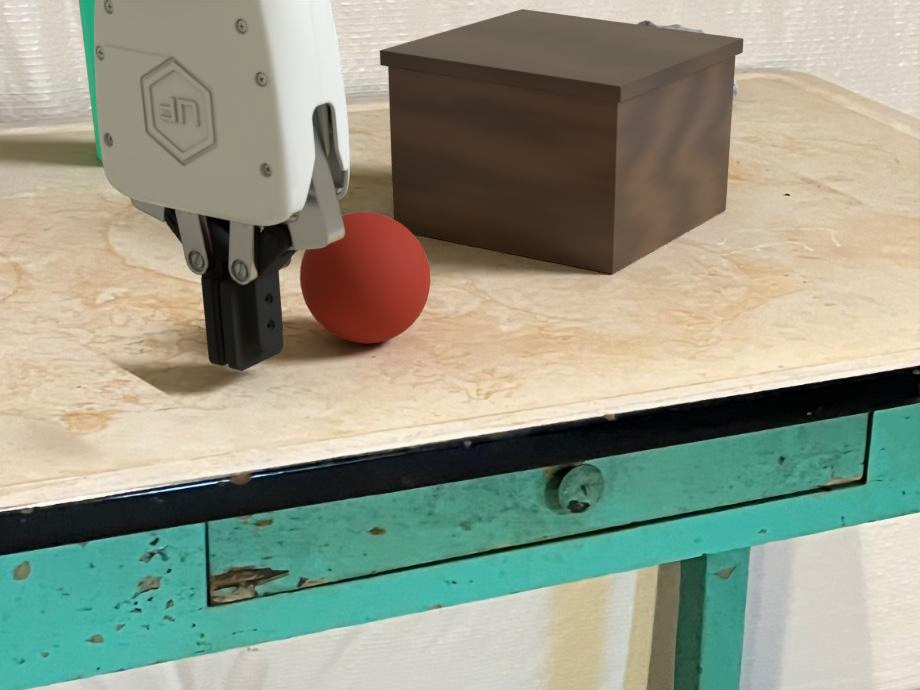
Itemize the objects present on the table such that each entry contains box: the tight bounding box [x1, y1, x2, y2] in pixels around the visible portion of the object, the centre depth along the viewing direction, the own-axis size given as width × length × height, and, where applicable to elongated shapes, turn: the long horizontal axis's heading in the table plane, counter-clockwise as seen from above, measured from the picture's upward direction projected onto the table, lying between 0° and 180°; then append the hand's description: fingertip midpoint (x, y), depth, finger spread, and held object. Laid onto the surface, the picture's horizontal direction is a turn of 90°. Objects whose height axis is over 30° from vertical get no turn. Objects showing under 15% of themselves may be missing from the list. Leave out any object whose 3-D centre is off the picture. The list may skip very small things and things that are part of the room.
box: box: [379, 8, 744, 275], centre depth 95 cm, size 15×15×10 cm
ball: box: [299, 211, 431, 344], centre depth 79 cm, size 6×6×6 cm
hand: (247, 357), depth 75 cm, fingers closed
